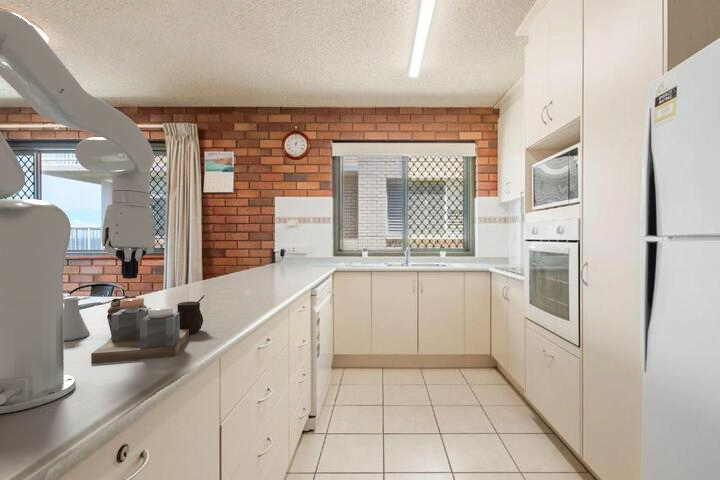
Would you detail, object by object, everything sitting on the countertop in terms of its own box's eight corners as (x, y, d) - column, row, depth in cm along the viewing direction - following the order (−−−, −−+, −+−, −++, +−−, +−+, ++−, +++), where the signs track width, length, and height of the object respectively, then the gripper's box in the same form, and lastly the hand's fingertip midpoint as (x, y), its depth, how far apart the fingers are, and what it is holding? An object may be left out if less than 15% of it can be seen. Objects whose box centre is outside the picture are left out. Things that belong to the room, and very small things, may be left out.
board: (175, 356, 77) (175, 319, 77) (91, 363, 73) (91, 323, 73) (188, 336, 92) (188, 305, 92) (119, 341, 87) (119, 309, 87)
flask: (96, 334, 94) (96, 296, 94) (71, 342, 87) (71, 301, 87) (71, 333, 95) (71, 296, 95) (44, 341, 88) (44, 301, 88)
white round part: (170, 337, 78) (170, 310, 78) (145, 339, 77) (145, 311, 77) (175, 331, 83) (174, 306, 83) (151, 333, 81) (151, 307, 81)
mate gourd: (173, 330, 98) (174, 294, 98) (204, 328, 101) (204, 292, 101) (172, 337, 91) (172, 298, 91) (204, 334, 95) (205, 296, 95)
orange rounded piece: (140, 325, 83) (140, 300, 83) (116, 327, 82) (116, 301, 82) (146, 321, 88) (146, 297, 88) (124, 322, 87) (124, 298, 87)
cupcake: (136, 339, 90) (136, 299, 90) (97, 339, 90) (97, 299, 90) (157, 329, 100) (157, 293, 99) (122, 329, 99) (122, 293, 99)
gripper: (153, 205, 93) (152, 275, 93) (86, 198, 80) (85, 280, 79) (170, 203, 89) (169, 276, 89) (104, 195, 76) (102, 281, 76)
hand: (129, 278), depth 84 cm, fingers closed
